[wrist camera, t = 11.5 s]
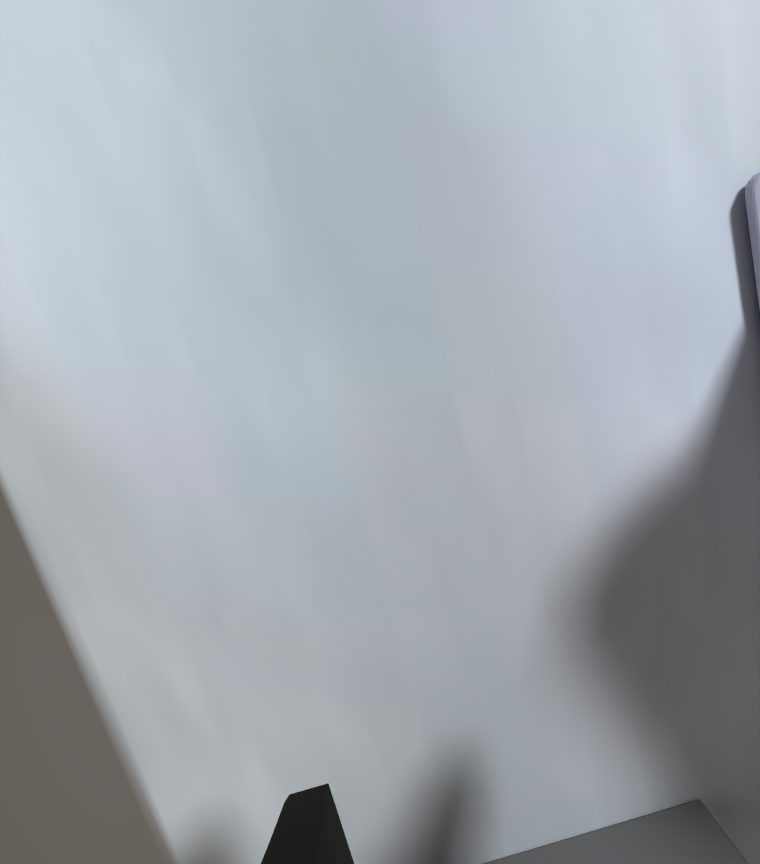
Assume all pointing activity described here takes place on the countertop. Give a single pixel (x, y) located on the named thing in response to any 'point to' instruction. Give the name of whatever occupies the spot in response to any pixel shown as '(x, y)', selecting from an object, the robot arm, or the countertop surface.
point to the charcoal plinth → (644, 842)
